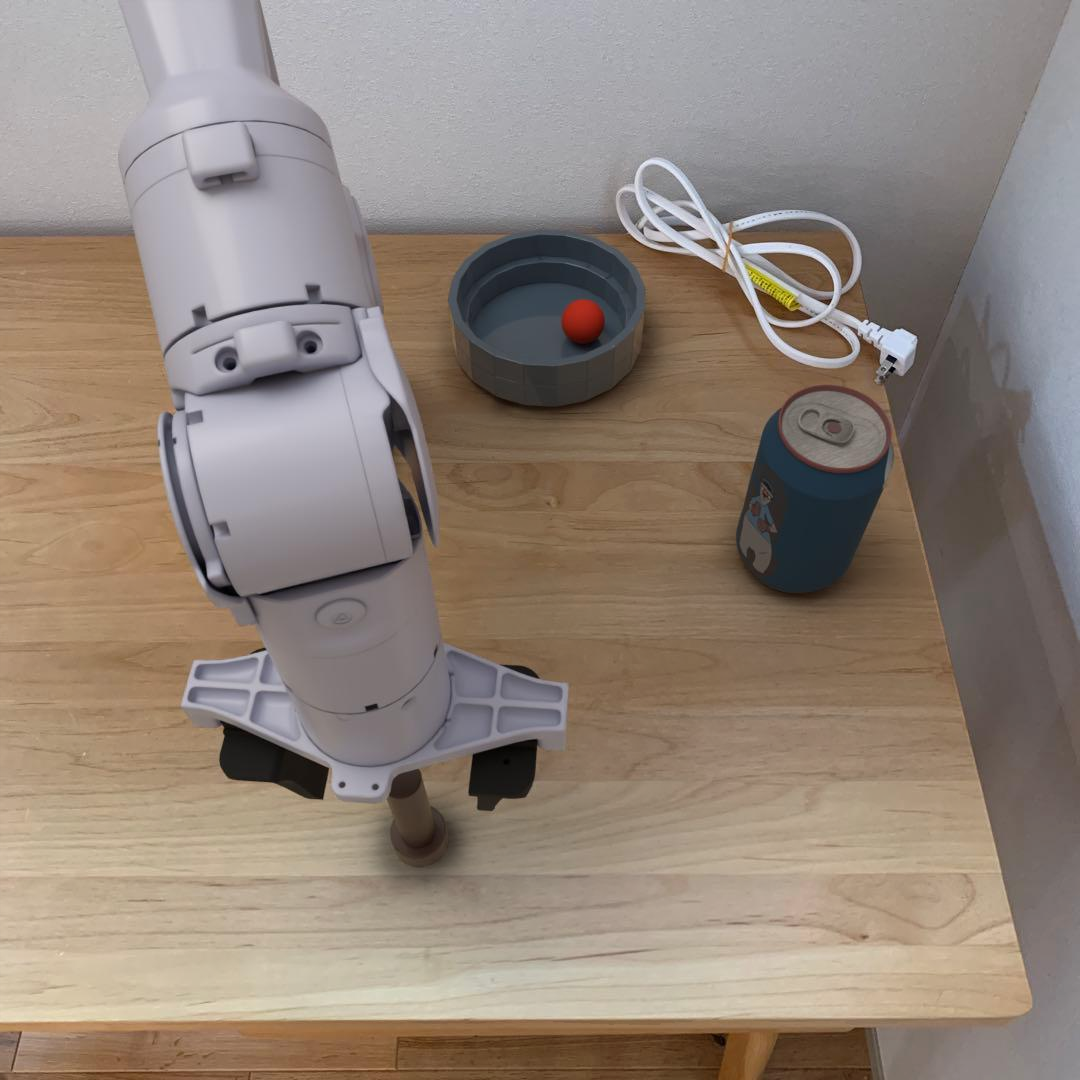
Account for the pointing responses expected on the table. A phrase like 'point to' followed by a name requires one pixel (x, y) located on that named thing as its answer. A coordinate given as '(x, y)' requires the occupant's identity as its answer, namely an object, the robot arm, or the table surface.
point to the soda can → (814, 487)
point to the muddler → (415, 821)
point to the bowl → (545, 316)
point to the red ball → (583, 321)
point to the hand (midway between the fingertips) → (404, 783)
